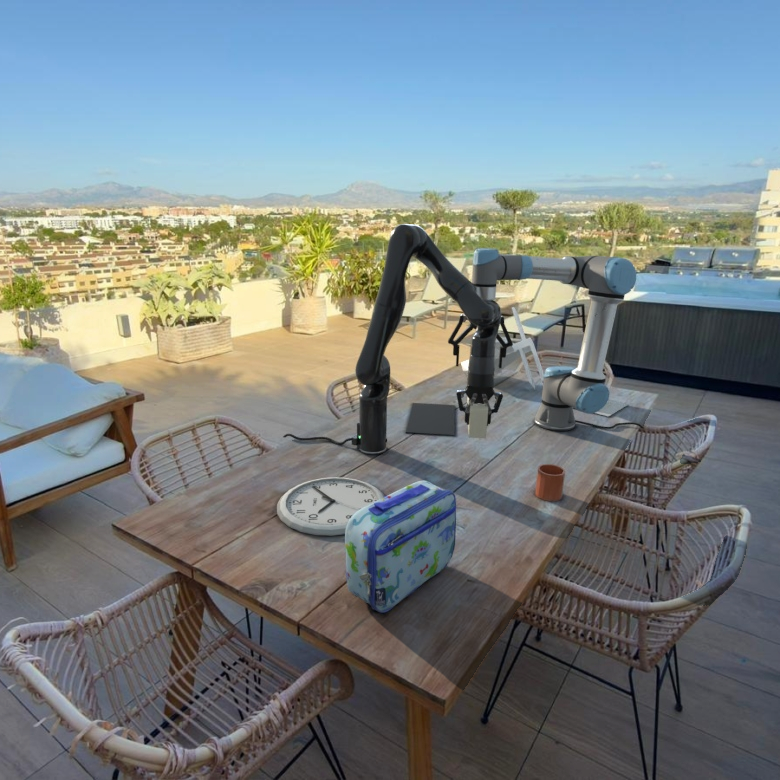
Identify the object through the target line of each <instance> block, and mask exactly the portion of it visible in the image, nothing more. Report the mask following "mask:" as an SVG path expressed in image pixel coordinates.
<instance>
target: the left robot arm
mask: <svg viewBox="0 0 780 780" xmlns="http://www.w3.org/2000/svg"><path fill="white" fill-rule="evenodd" d="M412 258H414V259H416V260H417V261H418V262H420V263H422V265H424V266H425V267H426V268H427V269H428V270H429V271H430V273H431V274H432V276H433V277H434V279H435V281H436V283H437V284H438V286H439V287H440V288H441V289H442V291H444V293H445V294H446V295H447V296H448V297H449V298H450V299H451V300H453V301H454V302H455V303H456V304H457V305H458V307H459V309H460V310H461V312H462V313H463V315H465V316H466V317H467V319H468V322H469V321H470V322H471V323H473V324H474V325H476V326H477V329H475V333H474V334H473V335H472V337H471V339H470V348H469V349H470V350H469V358H468V359H469V365H468V376H467V381H466V386H465V389H461V390H460V389H457V390H456V393H455V395H456V400H457V405H458V410H459V412H464V423H465V424H466V426H468V425H469V418H470V406H473V404H477V403H480V404H485V406H487V407H488V419H487V427H488V426H489V425H491V423H492V414H498V412H499V409H500V407H501V404H502V401H503V398H504V394H503V392H502V391H499V392H498V391H495V389H494V380H495V375H494V371H495V344H496V339H497V338H496V337H497V334H499V329H500V327H501V325H500V321H501V316H502V310H501V306H500V304H499V303H498V302H497V301H496V300H495V299H494V300H485V301H483V300H482V299H481V298H480V297H479V295H478V294H477V293H476V292H477V289H476V287H475V286H474V285H473V284H472V281H471V280H469V278H468V277H466V276H465V275H464V274H463V273H462V272H461V271H460V270H459V269H458V268H457V267H455V265H454V264H453V263H452V262H451V261H450V260H449V259H448V258H447V257H446V256H445V255H444V253H443V252H442V251H441V250H440V249H439V248H438V246H437V245H436V244H435V242H434V241H433V239H432V238H431V236H430V235H429V234H428V233H427V232H426V230H425V229H424V228H423V227H421V226H419V225H417V224H409V223H402V224H398V225H397V226H395V228H393V230H392V231H391V233H390V236H389V238H388V244H387V250H386V256H385V262H384V267H383V271H382V276H381V279H380V283H379V287H378V291H377V293H376V294H377V295H376V298H375V301H374V305H373V309H372V313H371V317H370V321H369V323H368V328H367V332H366V337H365V340H364V343H363V346H362V349H361V351H360V354H359V356H358V358H357V361H356V364H355V377H356V379H357V381H358V382H359V383H360V384H361V385H363V387H362V389H361V391H360V393H359V397H358V398H359V399H358V400H359V401H358V402H359V404H358V406H359V407H358V411H359V413H358V415H359V420H358V422H357V423H356V434H355V435H354V436H352V437H348V438H345V439H344V440H343V441H340V442H338V441H337V440H334V439H332V438H330V437H327V436H313V437H299V436H296V435H294V434H293V433H286V434H284V435H283V436H282V438H287V437H291V438H292V439H294V440H297V441H314V440H315V441H316V440H325V441H328V442H330V443H332V444H335V445H338V446H343V445H345V444H346V443H347V442H350V441H351V445H352V446H356V449H357V450H358V451H359V452H361V453H363V454H365V455H371V456H372V455H373V456H374V455H380V454H383V453H385V452H386V451H387V443H388V437H387V434H388V433H387V432H388V431H387V430H388V429H387V425H388V422H387V421H388V397H389V393H390V388H391V387H390V386H391V365H390V361H389V359H388V357H387V356H385V353H386V350H387V347H388V345H389V343H390V342H391V340H392V338H393V337H394V335H395V333H396V331H397V330H398V328H399V326H400V323H401V321H402V319H403V315H404V312H405V308H406V303H407V289H406V288H407V287H406V275H407V272H408V268H409V265H410V261H411V259H412ZM470 322H469V323H470ZM471 323H470V324H471ZM465 395H466V397H468V398H469V401H468V403H467V402H466V405H464V402H463V398H464V396H465ZM493 396H494V399H495V402H494V403H493V404H494V405H493V407H491V405H490V402H489V401H490V400H491V398H493Z"/></svg>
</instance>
